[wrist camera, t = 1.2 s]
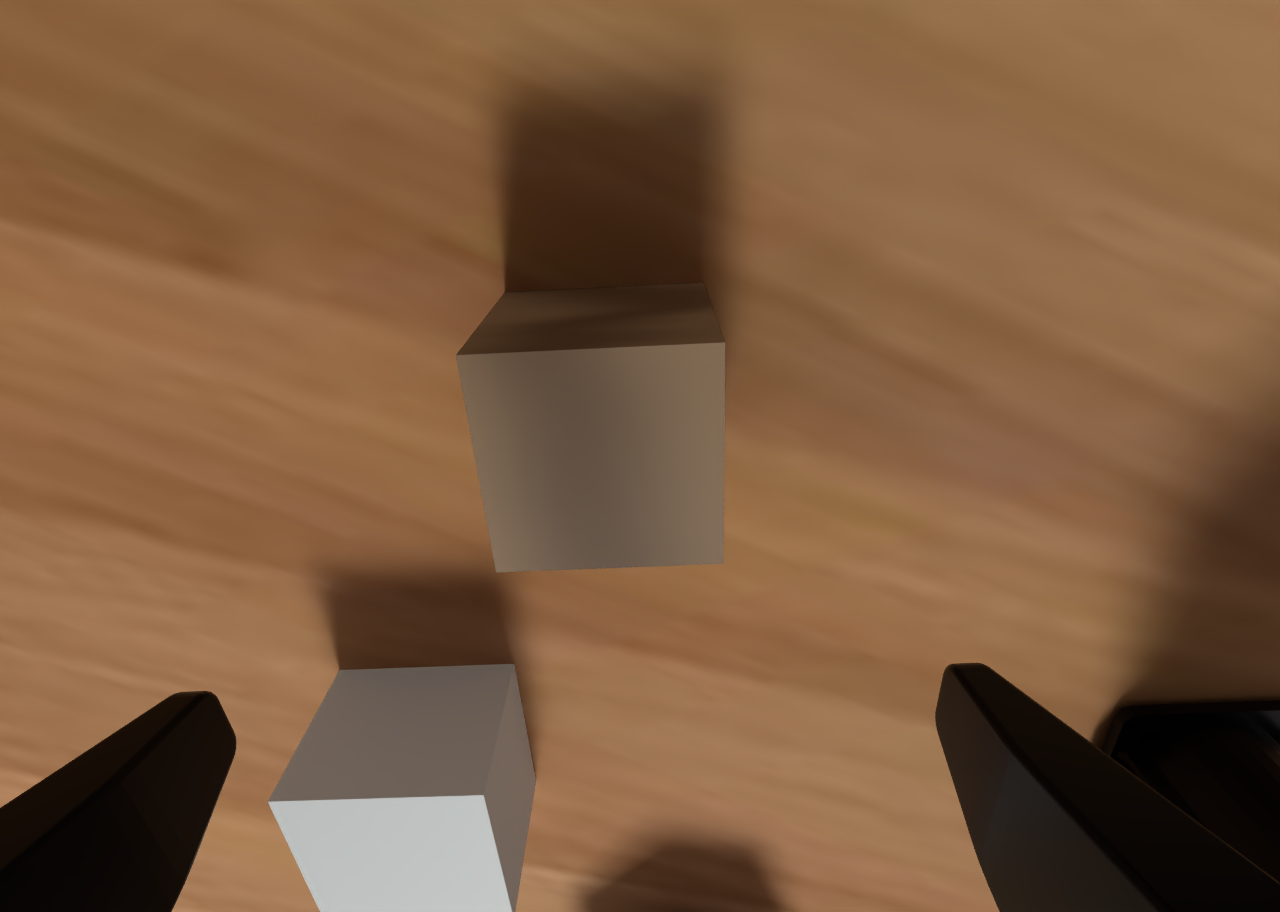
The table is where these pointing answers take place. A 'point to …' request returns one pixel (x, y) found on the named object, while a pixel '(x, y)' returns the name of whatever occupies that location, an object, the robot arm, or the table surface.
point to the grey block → (412, 791)
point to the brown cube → (599, 427)
